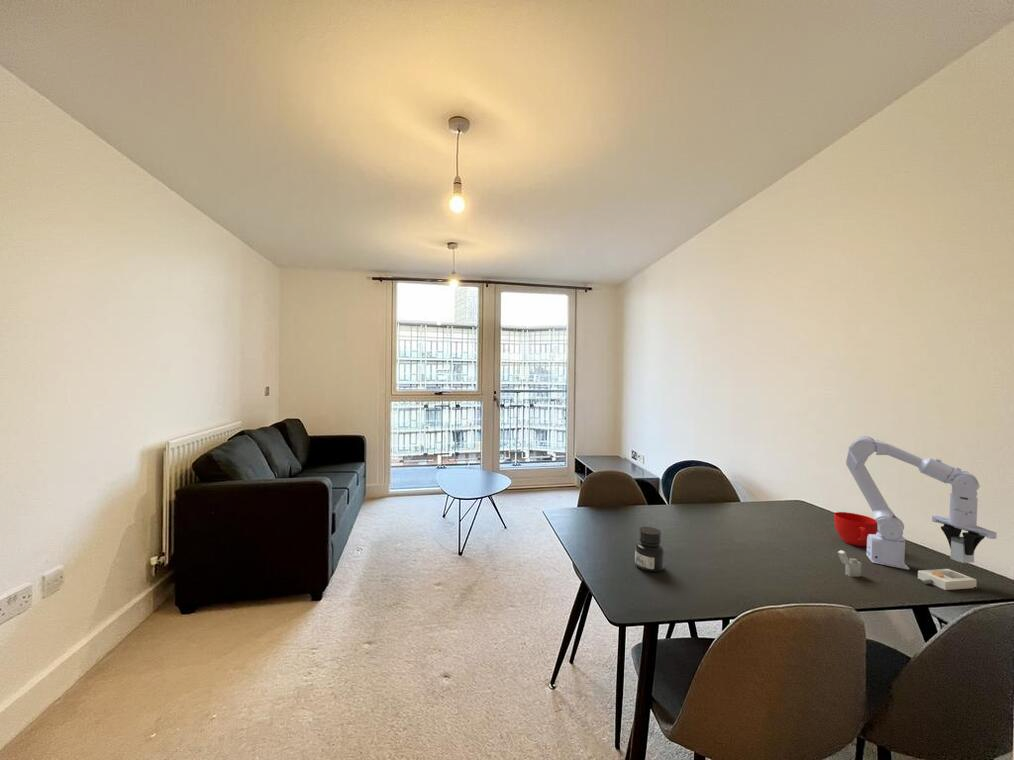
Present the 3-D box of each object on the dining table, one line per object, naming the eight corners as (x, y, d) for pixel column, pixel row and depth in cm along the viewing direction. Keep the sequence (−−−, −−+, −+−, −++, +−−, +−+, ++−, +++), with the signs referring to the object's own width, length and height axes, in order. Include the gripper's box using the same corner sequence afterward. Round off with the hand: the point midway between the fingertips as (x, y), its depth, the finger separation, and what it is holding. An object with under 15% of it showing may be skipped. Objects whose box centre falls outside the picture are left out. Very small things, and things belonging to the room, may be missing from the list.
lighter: (856, 573, 129) (856, 549, 129) (861, 576, 127) (862, 551, 127) (836, 574, 128) (837, 549, 128) (841, 576, 126) (842, 552, 126)
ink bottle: (628, 561, 133) (629, 526, 133) (649, 558, 136) (650, 523, 136) (648, 575, 124) (649, 537, 124) (670, 571, 127) (671, 534, 127)
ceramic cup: (841, 549, 148) (842, 522, 148) (829, 533, 163) (830, 509, 163) (887, 557, 142) (887, 529, 142) (870, 540, 157) (871, 515, 157)
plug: (962, 563, 124) (963, 540, 124) (950, 558, 127) (951, 537, 127) (973, 562, 125) (974, 540, 124) (961, 558, 127) (962, 536, 127)
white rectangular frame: (938, 590, 119) (939, 580, 119) (911, 578, 126) (912, 569, 126) (976, 587, 122) (976, 577, 122) (947, 576, 129) (948, 566, 129)
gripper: (1004, 517, 119) (1003, 562, 119) (944, 502, 133) (942, 542, 133) (986, 518, 118) (985, 563, 118) (927, 502, 132) (926, 543, 132)
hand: (961, 552), depth 126 cm, fingers closed on plug, 3 cm apart
